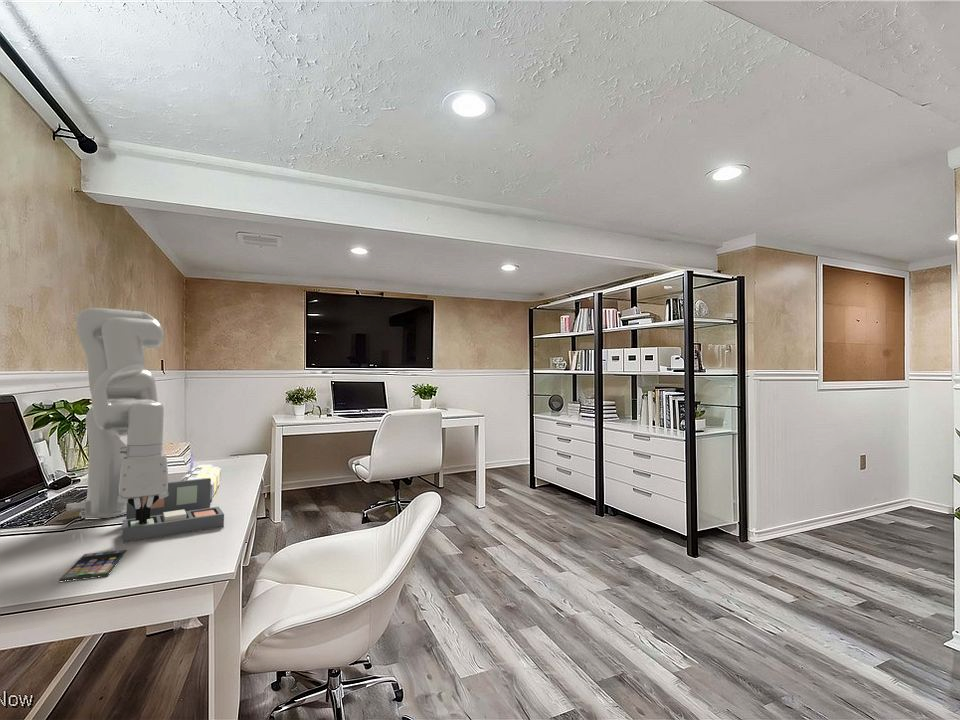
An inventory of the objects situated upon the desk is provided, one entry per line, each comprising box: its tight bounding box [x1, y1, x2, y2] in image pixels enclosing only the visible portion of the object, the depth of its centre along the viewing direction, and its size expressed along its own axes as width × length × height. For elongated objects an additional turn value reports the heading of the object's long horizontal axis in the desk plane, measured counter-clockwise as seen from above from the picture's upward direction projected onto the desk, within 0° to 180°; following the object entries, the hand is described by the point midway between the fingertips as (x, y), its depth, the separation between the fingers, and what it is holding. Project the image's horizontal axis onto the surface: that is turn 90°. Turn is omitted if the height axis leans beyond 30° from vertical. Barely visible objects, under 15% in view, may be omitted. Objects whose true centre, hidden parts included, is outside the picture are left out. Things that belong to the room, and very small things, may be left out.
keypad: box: [121, 478, 225, 544], centre depth 132 cm, size 22×19×10 cm
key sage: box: [130, 518, 154, 527], centre depth 123 cm, size 5×5×2 cm
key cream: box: [163, 510, 187, 522], centre depth 128 cm, size 5×5×2 cm
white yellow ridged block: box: [179, 452, 222, 501], centre depth 162 cm, size 25×10×13 cm, turn 23°
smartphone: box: [58, 549, 128, 582], centre depth 105 cm, size 8×15×1 cm, turn 24°
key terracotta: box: [193, 510, 216, 518], centre depth 132 cm, size 5×5×2 cm
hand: (142, 522), depth 123 cm, fingers closed
